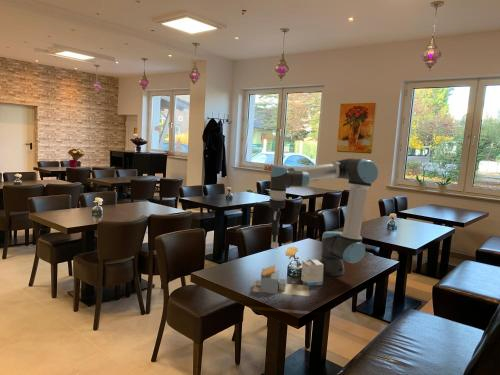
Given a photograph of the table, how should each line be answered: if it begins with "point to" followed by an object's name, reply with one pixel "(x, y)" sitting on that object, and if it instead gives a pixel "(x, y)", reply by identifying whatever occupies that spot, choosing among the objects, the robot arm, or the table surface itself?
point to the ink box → (312, 272)
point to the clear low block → (280, 284)
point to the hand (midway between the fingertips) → (274, 247)
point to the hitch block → (270, 283)
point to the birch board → (288, 289)
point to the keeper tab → (268, 271)
